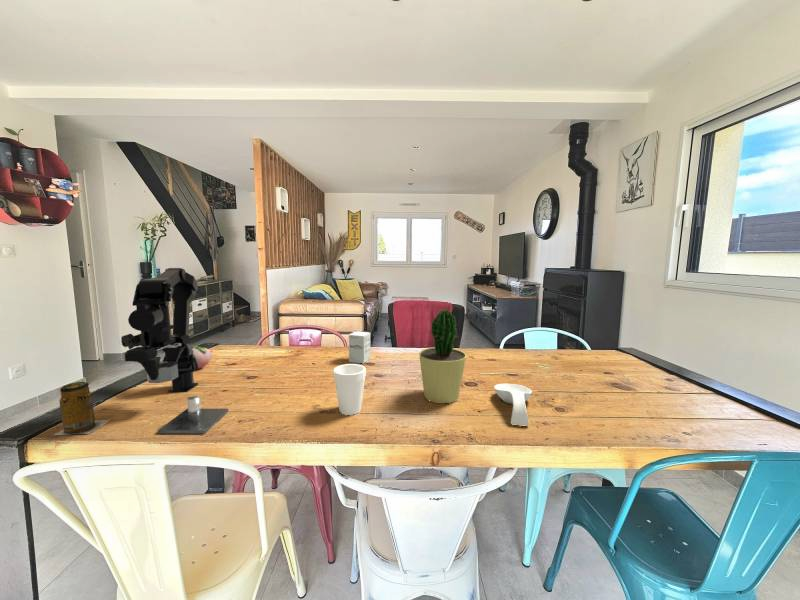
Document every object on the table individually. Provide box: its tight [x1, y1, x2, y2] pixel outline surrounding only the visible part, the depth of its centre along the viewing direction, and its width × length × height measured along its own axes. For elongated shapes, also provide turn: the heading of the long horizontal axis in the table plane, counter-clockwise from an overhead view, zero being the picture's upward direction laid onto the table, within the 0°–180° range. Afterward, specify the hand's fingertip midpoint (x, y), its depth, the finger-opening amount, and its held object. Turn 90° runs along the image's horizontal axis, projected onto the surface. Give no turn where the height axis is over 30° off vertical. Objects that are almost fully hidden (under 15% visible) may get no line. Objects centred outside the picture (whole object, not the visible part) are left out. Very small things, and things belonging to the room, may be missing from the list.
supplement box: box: [348, 331, 371, 365], centre depth 142 cm, size 7×7×13 cm
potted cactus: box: [418, 309, 467, 404], centre depth 106 cm, size 15×15×30 cm
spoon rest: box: [493, 383, 533, 427], centre depth 100 cm, size 24×12×7 cm, turn 168°
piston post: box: [157, 395, 229, 435], centre depth 89 cm, size 12×12×7 cm
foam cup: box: [333, 363, 367, 416], centre depth 96 cm, size 10×9×13 cm
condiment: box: [53, 381, 111, 436], centre depth 85 cm, size 7×8×12 cm
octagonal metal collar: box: [146, 361, 179, 384], centre depth 95 cm, size 7×7×4 cm
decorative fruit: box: [190, 344, 213, 370], centre depth 130 cm, size 9×8×10 cm
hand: (162, 375), depth 95 cm, fingers closed on octagonal metal collar, 7 cm apart
